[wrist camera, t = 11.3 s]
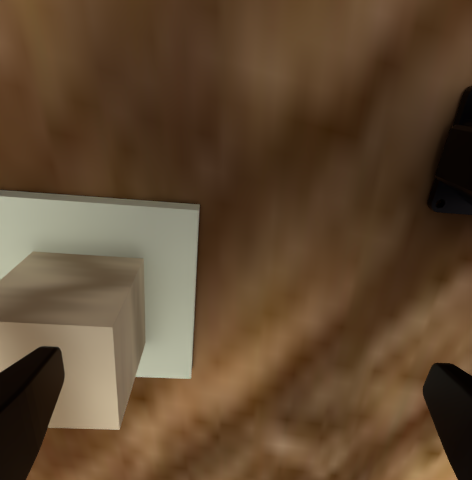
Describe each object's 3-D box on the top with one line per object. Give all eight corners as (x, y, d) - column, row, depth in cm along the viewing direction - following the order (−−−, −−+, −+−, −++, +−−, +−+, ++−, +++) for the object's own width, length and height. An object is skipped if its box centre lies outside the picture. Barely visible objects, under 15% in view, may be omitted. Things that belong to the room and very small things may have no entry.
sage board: (199, 204, 19) (198, 210, 18) (192, 367, 24) (190, 378, 23) (-27, 187, 18) (-39, 193, 17) (13, 360, 23) (5, 371, 22)
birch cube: (143, 258, 19) (112, 327, 14) (145, 342, 22) (119, 429, 16) (32, 251, 19) (-45, 319, 13) (47, 338, 21) (-14, 425, 16)
